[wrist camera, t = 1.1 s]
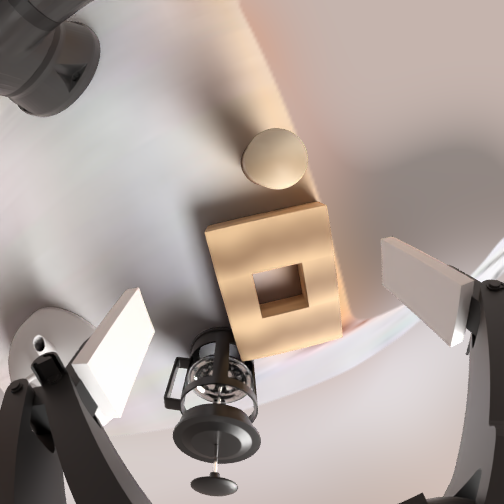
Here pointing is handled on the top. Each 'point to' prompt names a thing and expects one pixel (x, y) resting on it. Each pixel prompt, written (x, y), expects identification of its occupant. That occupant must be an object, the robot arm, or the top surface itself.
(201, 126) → the top surface
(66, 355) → the kettle
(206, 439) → the french press
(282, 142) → the peg
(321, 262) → the board
